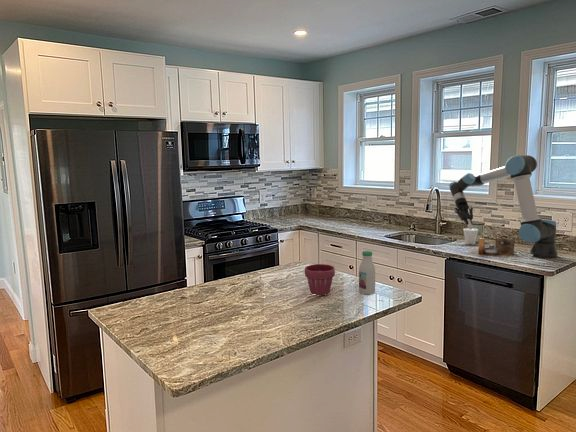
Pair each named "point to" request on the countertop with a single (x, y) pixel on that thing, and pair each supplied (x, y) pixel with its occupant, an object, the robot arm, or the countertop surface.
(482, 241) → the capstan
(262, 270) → the countertop surface
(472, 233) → the cup
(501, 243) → the stand
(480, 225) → the glass jar
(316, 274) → the plant pot
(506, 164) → the robot arm
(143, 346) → the countertop surface
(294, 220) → the countertop surface
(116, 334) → the countertop surface
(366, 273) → the milk bottle
